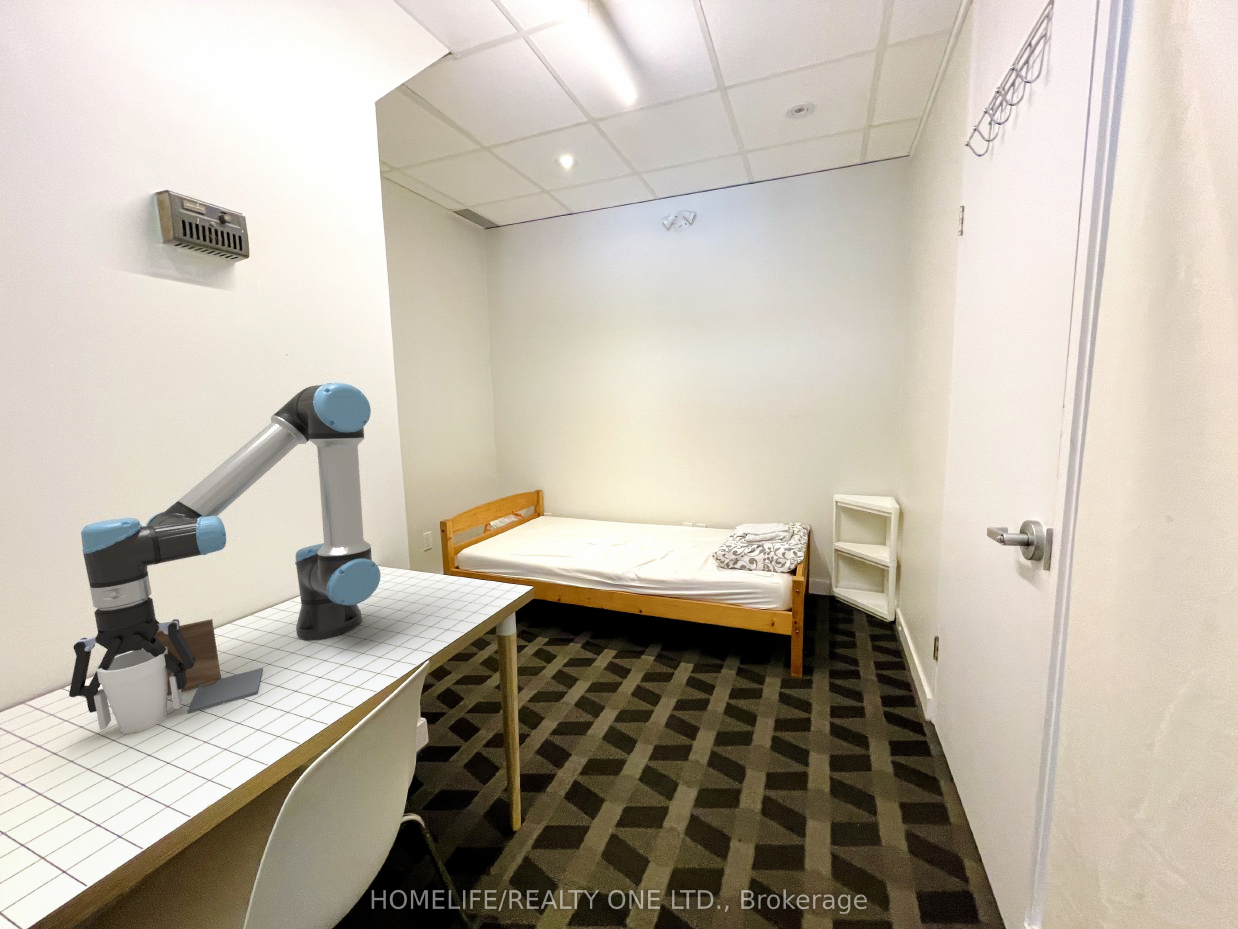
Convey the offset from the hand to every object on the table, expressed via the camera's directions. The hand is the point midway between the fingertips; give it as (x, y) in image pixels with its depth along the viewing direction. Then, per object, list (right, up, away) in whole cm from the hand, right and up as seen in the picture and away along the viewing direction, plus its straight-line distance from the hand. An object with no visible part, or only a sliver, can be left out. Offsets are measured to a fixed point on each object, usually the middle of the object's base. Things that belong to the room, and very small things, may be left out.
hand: (143, 714), depth 90 cm
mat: (+8, 0, +10) cm, 13 cm away
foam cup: (0, -2, 0) cm, 2 cm away
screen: (-4, -1, +10) cm, 10 cm away
